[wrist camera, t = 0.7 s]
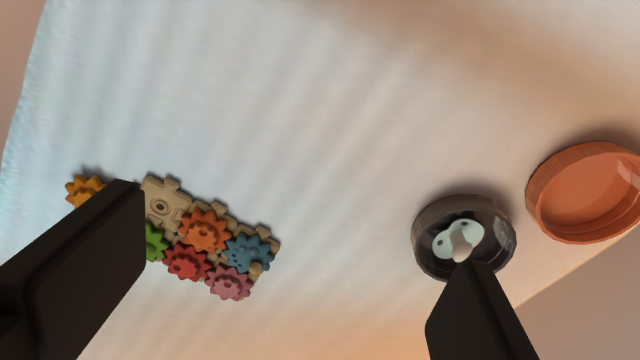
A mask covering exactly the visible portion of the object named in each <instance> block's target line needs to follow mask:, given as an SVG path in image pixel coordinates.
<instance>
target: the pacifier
mask: <svg viewBox="0 0 640 360" xmlns="http://www.w3.org/2000/svg"><path fill="white" fill-rule="evenodd" d="M462 222H467V224H465V223H462ZM484 232H485V230H484V227H483V226H482V225H481V224H480V223H478V222H477V221H475V220H472V219H469V218H460V219H457V220H455V221H453V222H452V223H451V224H450V226H449V227H448V228H447V229H445V230H443V231H441V232H439V233H438V234H437V235H436V236H435V238H434V239H433V243H432V248H433V252H434V254H435V255H436V256H437V257H439V258H443V259H449V258H452V257H453V259H454V261H455V262H462V261H464V260H465V259H466V258H467V257H468V256H469V255H470V254H471V252H472V249H473V248H474V247H475V246H476V245H477V244H479V242H480V241H481V240H482V238H483V236H484ZM439 240H442V243H441V244H437V242H438V241H439Z"/></svg>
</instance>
